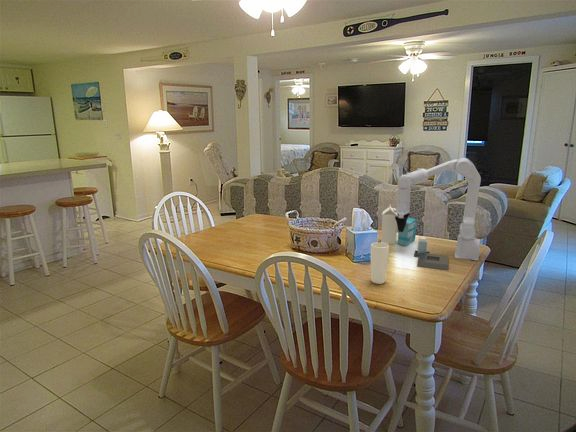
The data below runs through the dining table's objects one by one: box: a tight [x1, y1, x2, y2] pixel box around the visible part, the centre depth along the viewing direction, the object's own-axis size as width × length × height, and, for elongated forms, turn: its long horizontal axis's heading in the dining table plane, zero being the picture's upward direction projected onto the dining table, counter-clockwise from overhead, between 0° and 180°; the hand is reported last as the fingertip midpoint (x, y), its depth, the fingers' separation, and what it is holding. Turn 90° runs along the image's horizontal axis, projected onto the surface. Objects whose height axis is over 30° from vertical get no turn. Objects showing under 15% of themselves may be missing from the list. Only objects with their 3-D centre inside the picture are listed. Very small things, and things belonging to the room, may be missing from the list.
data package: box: [396, 217, 418, 247], centre depth 200 cm, size 12×4×12 cm, turn 142°
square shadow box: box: [413, 249, 431, 258], centre depth 184 cm, size 6×6×2 cm
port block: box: [416, 252, 449, 271], centre depth 174 cm, size 12×12×3 cm
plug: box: [417, 236, 428, 255], centre depth 183 cm, size 4×4×8 cm
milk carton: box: [380, 203, 398, 245], centre depth 201 cm, size 7×7×19 cm
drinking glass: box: [370, 241, 390, 285], centre depth 155 cm, size 7×7×15 cm
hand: (401, 229), depth 190 cm, fingers open, 7 cm apart
